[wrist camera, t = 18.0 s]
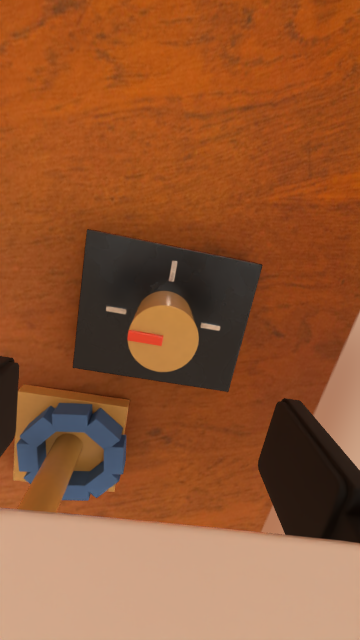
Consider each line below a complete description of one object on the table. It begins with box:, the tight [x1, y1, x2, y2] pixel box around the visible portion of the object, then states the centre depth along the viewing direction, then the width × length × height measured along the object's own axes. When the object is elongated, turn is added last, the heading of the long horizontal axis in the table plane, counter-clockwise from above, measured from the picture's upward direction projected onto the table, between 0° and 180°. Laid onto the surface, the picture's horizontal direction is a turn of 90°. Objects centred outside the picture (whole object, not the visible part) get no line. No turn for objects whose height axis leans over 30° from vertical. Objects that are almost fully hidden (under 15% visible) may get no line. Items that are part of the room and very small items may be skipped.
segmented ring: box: [17, 403, 126, 500], centre depth 23 cm, size 8×8×2 cm
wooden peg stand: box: [13, 384, 130, 513], centre depth 20 cm, size 9×9×11 cm
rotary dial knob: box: [127, 291, 199, 372], centre depth 18 cm, size 4×4×5 cm
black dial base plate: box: [73, 229, 262, 392], centre depth 21 cm, size 12×10×3 cm
